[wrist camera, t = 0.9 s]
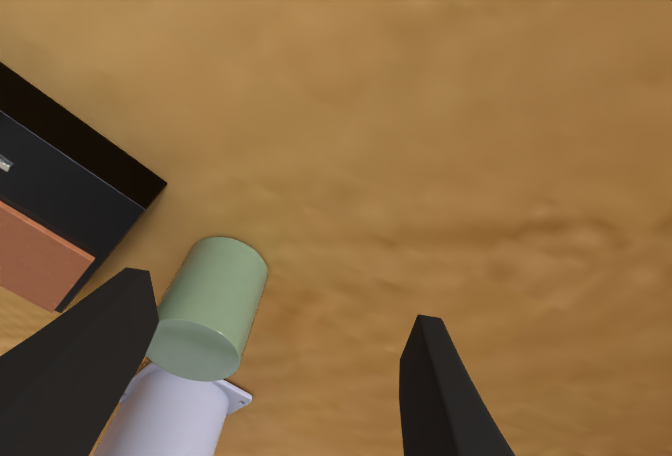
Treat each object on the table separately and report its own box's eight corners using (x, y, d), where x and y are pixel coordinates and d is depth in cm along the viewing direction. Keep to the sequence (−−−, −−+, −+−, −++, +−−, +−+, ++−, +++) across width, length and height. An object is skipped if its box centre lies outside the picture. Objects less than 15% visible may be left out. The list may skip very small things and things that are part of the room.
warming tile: (55, 309, 24) (51, 313, 23) (-55, 250, 21) (-60, 254, 21) (96, 257, 21) (92, 261, 20) (-26, 184, 18) (-32, 187, 18)
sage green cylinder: (238, 305, 26) (205, 392, 21) (173, 264, 24) (121, 348, 19) (285, 269, 23) (260, 357, 19) (217, 220, 22) (170, 303, 17)
